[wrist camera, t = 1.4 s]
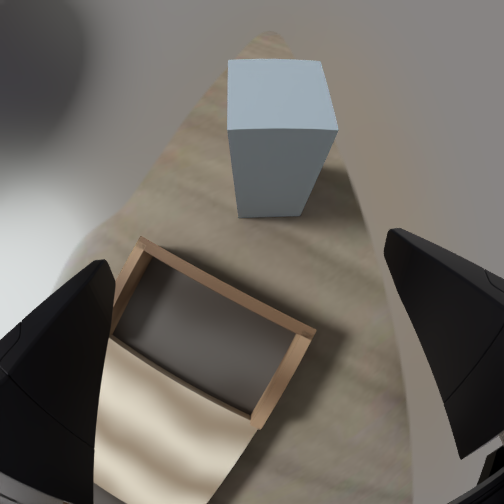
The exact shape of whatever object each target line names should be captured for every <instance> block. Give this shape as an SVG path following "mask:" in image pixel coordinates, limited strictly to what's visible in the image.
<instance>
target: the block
mask: <svg viewBox="0 0 504 504" xmlns="http://www.w3.org/2000/svg"><path fill="white" fill-rule="evenodd" d="M227 131H228V139H229V147H230V155H231V163H232V171H233V179H234V186H235V194H236V202H237V210H238V218H251V217H283V216H300V215H301V213H302V211H303V208H304V206H305V204H306V202H307V200H308V198H309V195H310V193H311V191H312V189H313V187H314V184H315V182H316V180H317V178H318V175H319V173H320V171H321V169H322V167H323V164H324V162H325V160H326V157H327V155H328V153H329V151H330V148H331V146H332V144H333V142H334V139H335V137H336V135H337V132H338V126H337V122H336V118H335V113H334V109H333V105H332V102H331V97H330V93H329V90H328V86H327V83H326V79H325V75H324V72H323V68H322V65H321V62H320V61H310V60H292V59H240V60H228V115H227Z"/></svg>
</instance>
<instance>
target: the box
mask: <svg viewBox="0 0 504 504" xmlns="http://www.w3.org/2000/svg"><path fill="white" fill-rule="evenodd" d="M115 283H116V288H115V296H114V304H113V313H112V323H111V330H110V335H109V340H108V346H107V351H106V357H105V363H104V369H103V375H102V382H101V389H100V397H99V405H98V414H97V424H96V436H95V448H94V449H95V454H94V504H207V502H208V501H209V500H210V498H211V497H212V496H213V494H214V493H215V491H216V490H217V489H218V487H219V486H220V485H221V483H222V482H223V480H224V479H225V478H226V476H227V475H228V473H229V472H230V470H231V469H232V467H233V466H234V465H235V463H236V462H237V460H238V459H239V457H240V456H241V454H242V453H243V451H244V450H245V448H246V447H247V445H248V443H249V442H250V440H251V439H252V437H253V436H254V434H255V433H256V431H257V429H260V430H261V428H262V427H263V425H264V424H265V422H266V420H267V419H268V417H269V415H270V414H271V412H272V410H273V409H274V407H275V405H276V404H277V402H278V400H279V399H280V397H281V395H282V393H283V392H284V390H285V388H286V387H287V385H288V383H289V381H290V379H291V378H292V376H293V374H294V372H295V370H296V369H297V367H298V365H299V363H300V361H301V359H302V357H303V356H304V354H305V352H306V350H307V348H308V346H309V344H310V342H311V340H312V338H313V336H314V334H315V332H316V329H314V328H312V327H310V326H308V325H306V324H304V323H302V322H300V321H298V320H296V319H294V318H292V317H290V316H288V315H286V314H284V313H282V312H280V311H278V310H276V309H274V308H272V307H270V306H268V305H266V304H264V303H262V302H260V301H259V300H257V299H255V298H253V297H251V296H249V295H247V294H245V293H243V292H241V291H240V290H238V289H236V288H234V287H232V286H230V285H228V284H226V283H225V282H223V281H221V280H219V279H217V278H215V277H213V276H212V275H210V274H208V273H206V272H204V271H202V270H201V269H199V268H197V267H195V266H193V265H191V264H190V263H188V262H186V261H184V260H182V259H181V258H179V257H177V256H175V255H174V254H172V253H170V252H168V251H166V250H165V249H163V248H161V247H159V246H158V245H156V244H154V243H152V242H151V241H149V240H147V239H145V238H144V237H142V236H140V238H139V239H138V241H137V243H136V245H135V246H134V248H133V250H132V252H131V254H130V255H129V257H128V259H127V261H126V263H125V264H124V266H123V268H122V270H121V272H120V274H119V276H118V278H117V279H116V281H115ZM63 504H69V503H66V502H63Z"/></svg>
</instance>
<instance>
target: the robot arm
mask: <svg viewBox="0 0 504 504" xmlns="http://www.w3.org/2000/svg"><path fill="white" fill-rule="evenodd" d="M384 257H385V260H386V262H387V265H388V267H389V270H390V273H391V275H392V278H393V281H394V283H395V286H396V289H397V291H398V294H399V296H400V298H401V301H402V303H403V305H404V307H405V309H406V311H407V313H408V315H409V318H410V320H411V322H412V324H413V327H414V329H415V331H416V333H417V336H418V338H419V340H420V342H421V345H422V348H423V350H424V352H425V355H426V357H427V360H428V362H429V365H430V367H431V370H432V373H433V375H434V378H435V380H436V383H437V386H438V389H439V391H440V394H441V397H442V400H443V403H444V407H445V410H446V413H447V416H448V419H449V422H450V425H451V429H452V432H453V436H454V439H455V442H456V446H457V450H458V454H459V457H460V459H463V458H465V457H466V456H468V455H470V454H472V453H473V452H475V451H476V450H478V449H480V448H481V447H483V446H484V445H486V444H487V443H489V442H490V441H492V440H493V439H495V438H496V437H498V436H500V439H501V441H502V444H503V445H502V446H501V447H499V448H498V449H496V450H495V451H494V452H492V453H491V454H489V455H488V456H487V458H486V460H485V464H484V467H483V469H482V472H481V475H480V478H479V481H478V483H477V486H476V487H474V488H473V489H471V490H470V491H468V492H466V493H465V494H463V495H462V496H460V497H458V498H456V499H455V500H453V501H451V502H449V503H448V504H504V279H503V278H501V277H498V276H497V275H495V274H493V273H491V272H489V271H487V270H486V269H485V270H484V269H483V268H482V267H480V266H478V265H476V264H474V263H472V262H470V261H468V260H466V259H464V258H463V257H461V256H458V255H456V254H455V253H452V252H450V251H448V250H446V249H444V248H442V247H440V246H438V245H436V244H434V243H432V242H430V241H428V240H425V239H423V238H421V237H419V236H417V235H414V234H412V233H410V232H408V231H406V230H403V229H401V228H395V229H390V230H389V231H388V233H387V238H386V242H385V247H384ZM115 288H116V283H115V279H114V277H113V274H112V272H111V269H110V267H109V264H108V262H107V261H106V260H105V259H102V260H95V261H93V262H91V263H90V264H89V265H88V266H86V267H85V268H84V269H82V270H81V271H80V272H79V273H77V274H76V275H75V276H74V277H72V278H71V279H70V280H69V281H67V282H66V283H65V284H64V285H62V286H61V287H60V288H59V289H58V290H56V291H55V292H54V293H53V294H52V295H50V296H49V297H48V298H47V299H46V300H45V301H43V302H42V303H41V304H40V305H39V306H38V307H36V308H35V309H34V310H33V311H32V312H31V313H30V314H28V316H26V317H25V318H24V319H23V320H22V322H20V323H18V324H17V325H16V326H15V327H14V328H13V329H12V330H11V331H10V332H8V333H7V334H6V335H5V336H4V337H3V338H2V339H1V340H0V504H63V502H66V503H69V504H94V454H95V449H94V448H95V436H96V424H97V414H98V405H99V397H100V389H101V382H102V375H103V369H104V363H105V357H106V351H107V346H108V340H109V335H110V330H111V323H112V313H113V304H114V296H115Z"/></svg>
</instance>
